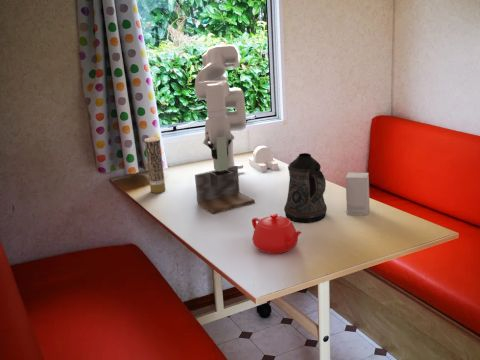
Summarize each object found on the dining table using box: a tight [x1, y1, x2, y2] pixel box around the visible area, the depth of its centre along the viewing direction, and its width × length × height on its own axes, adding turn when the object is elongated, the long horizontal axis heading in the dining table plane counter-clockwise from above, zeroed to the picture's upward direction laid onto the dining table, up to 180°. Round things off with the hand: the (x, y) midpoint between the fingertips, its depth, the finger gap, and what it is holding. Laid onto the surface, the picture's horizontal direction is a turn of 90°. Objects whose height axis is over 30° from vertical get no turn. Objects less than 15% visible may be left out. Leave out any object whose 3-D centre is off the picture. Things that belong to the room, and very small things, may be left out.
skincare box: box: [345, 171, 370, 216], centre depth 215 cm, size 8×7×16 cm
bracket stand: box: [194, 164, 256, 215], centre depth 234 cm, size 20×14×14 cm
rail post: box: [212, 135, 228, 171], centre depth 231 cm, size 4×4×16 cm
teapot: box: [251, 213, 303, 255], centre depth 189 cm, size 25×16×12 cm, turn 38°
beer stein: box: [283, 152, 328, 224], centre depth 213 cm, size 16×19×25 cm
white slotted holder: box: [248, 145, 279, 173], centre depth 284 cm, size 10×18×11 cm, turn 19°
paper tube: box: [144, 136, 166, 194], centre depth 255 cm, size 7×7×25 cm
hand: (220, 156), depth 232 cm, fingers closed on rail post, 4 cm apart
